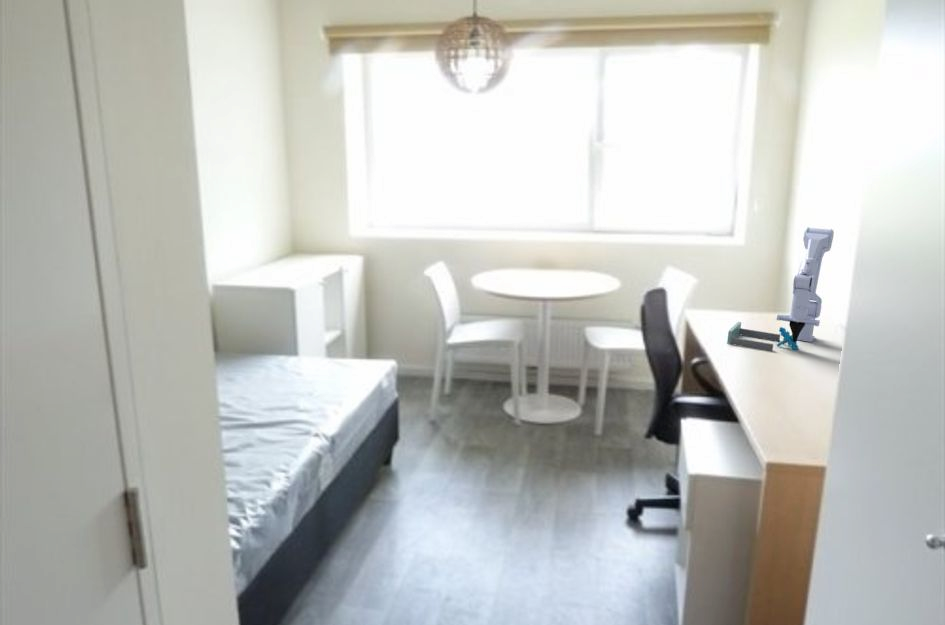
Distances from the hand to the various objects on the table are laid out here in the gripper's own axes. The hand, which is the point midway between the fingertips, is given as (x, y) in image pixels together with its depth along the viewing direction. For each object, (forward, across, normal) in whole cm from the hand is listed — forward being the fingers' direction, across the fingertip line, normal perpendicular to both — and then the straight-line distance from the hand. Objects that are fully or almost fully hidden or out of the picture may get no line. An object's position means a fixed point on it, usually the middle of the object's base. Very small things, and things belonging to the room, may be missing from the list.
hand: (794, 341), depth 262 cm
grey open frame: (+3, -14, 0) cm, 15 cm away
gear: (+3, -2, 0) cm, 4 cm away
